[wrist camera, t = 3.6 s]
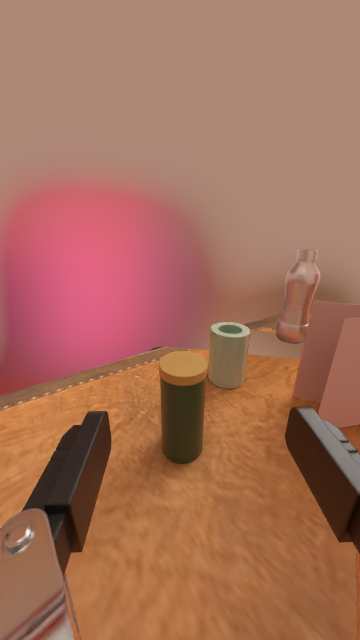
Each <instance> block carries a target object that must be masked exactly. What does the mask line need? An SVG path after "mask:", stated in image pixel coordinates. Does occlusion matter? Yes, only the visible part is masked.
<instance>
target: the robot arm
mask: <svg viewBox="0 0 360 640" xmlns="http://www.w3.org/2000/svg"><path fill="white" fill-rule="evenodd" d="M285 439H286V444H287V447H288V449H289V451H290V453H291V455H292V457H293V459H294V461H295V462H296V464H297V466H298V468H299V470H300V472H301V473H302V475H303V477H304V479H305V481H306V483H307V484H308V486H309V488H310V490H311V492H312V493H313V495H314V497H315V499H316V501H317V503H318V504H319V506H320V508H321V510H322V512H323V514H324V515H325V517H326V519H327V521H328V523H329V525H330V526H331V528H332V530H333V532H334V534H335V536H336V537H337V539H338V541H339V542H353V543H354V545H355V547H356V548H357V550H358V552H357V555H356V579H357V636H356V640H360V453H358V451H357V449H356V448H355V447H354V446H353V445H352V443H349V440H348V439H347V438H346V437H345V435H344V434H343V433H342V432H341V431H340V430H339V429H338V428H337V427H335V426H334V425H333V424H331V423H330V422H329V421H327V420H322V419H321V418H320V416H319V415H318V414H317V413H316V411H315V410H314V409H313V408H311V407H293V408H291V410H290V414H289V419H288V423H287V428H286V433H285ZM110 450H111V432H110V425H109V418H108V413H107V411H90V412H88V413H87V414H86V416H85V418H84V421H83V423H82V425H74V426H73V427H72V428H71V429H69V430H68V431H67V432H66V433H65V434H64V435H63V437H62V439H61V441H60V442H59V444H58V446H57V448H56V451H55V452H54V454H53V455H52V457H51V461H49V463H48V465H47V466H46V468H45V470H44V472H43V474H42V476H41V478H40V479H39V481H38V483H37V485H36V487H35V489H34V490H33V492H32V494H31V496H30V498H29V500H28V502H27V503H26V505H25V507H24V508H23V510H22V511H21V512H20V513H18V514H16V515H15V516H13V517H12V518H10V519H9V520H8V521H7V522H6V523H5V524H4V525H3V526H2V527H1V528H0V640H82V639H81V635H80V631H79V627H78V622H77V618H76V614H75V610H74V606H73V602H72V598H71V594H70V590H69V586H68V582H67V578H66V574H65V570H66V567H67V564H68V560H69V557H70V554H71V553H73V552H82V550H83V546H84V543H85V539H86V536H87V532H88V529H89V525H90V522H91V518H92V515H93V511H94V508H95V504H96V500H97V497H98V493H99V490H100V486H101V483H102V479H103V476H104V472H105V469H106V465H107V462H108V458H109V455H110Z"/></svg>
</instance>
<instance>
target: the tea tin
mask: <svg viewBox="0 0 360 640" xmlns="http://www.w3.org/2000/svg"><path fill="white" fill-rule="evenodd" d="M207 370H208V363H207V360H206V359H205V358H204V357H203V356H201V355H200V354H197V353H194V352H190V351H176V352H171V353H168V354H166V355H165V356H163V357H162V358H161V359H160V361H159V374H160V383H161V420H162V449H163V452H164V454H165V455H166V457H167V458H168V459H170V460H171V461H173V462H176V463H180V464H184V463H189V462H192V461H194V460H195V459H196V458H197V457H198V456H199V455H200V453H201V451H202V440H203V422H204V404H205V387H206V376H207Z"/></svg>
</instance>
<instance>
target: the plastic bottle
mask: <svg viewBox="0 0 360 640" xmlns="http://www.w3.org/2000/svg"><path fill="white" fill-rule="evenodd" d="M317 253H318V250H298V251H297V256H296V259H297V261H296V263H295V264H294V265H293V266H292V267H291V268H290V270H289V271H288V272H287V274H286V282H285V297H284V305H283V309H282V313H281V316H280V319H279V321H278V324H277V327H276V334H277V337H278V338H279V339H280V340H282V341H284V342H288V343H301V342H302V341H304V340H305V338H306V333H307V329H308V319H309V312H310V307H311V303H312V300H313V296H314V293H315V291H316V289H317V286H318V283H319V281H320V273H319V270H318V268H317V266H316V265H315V260H317Z"/></svg>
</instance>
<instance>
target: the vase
mask: <svg viewBox="0 0 360 640" xmlns="http://www.w3.org/2000/svg"><path fill="white" fill-rule="evenodd" d="M249 338H250V329H249V328H248V327H246V326H244V325H242V324H238V323H232V322H221V323H216V324H214V325H212V326H211V330H210V347H209V348H210V349H209V363H208V378H209V380H210V382H211V383H213V384H214V385H216V386H218V387H221V388H227V389H232V388H237V387H239V386H241V385H242V384H243V382H244V377H245V369H246V361H247V353H248V346H249Z"/></svg>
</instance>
